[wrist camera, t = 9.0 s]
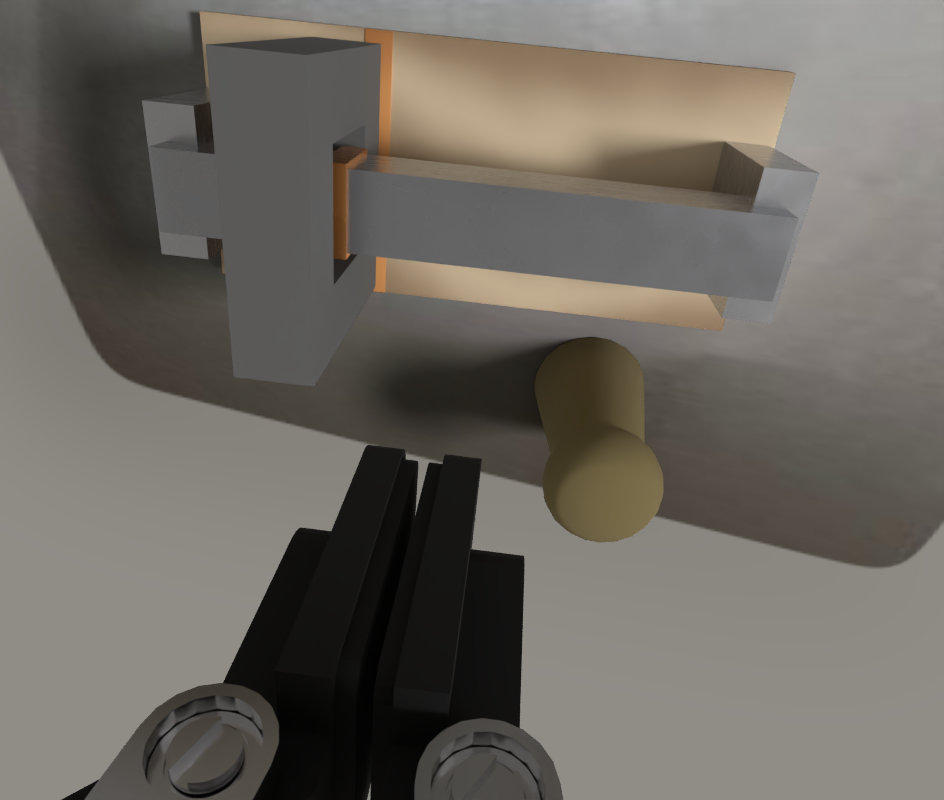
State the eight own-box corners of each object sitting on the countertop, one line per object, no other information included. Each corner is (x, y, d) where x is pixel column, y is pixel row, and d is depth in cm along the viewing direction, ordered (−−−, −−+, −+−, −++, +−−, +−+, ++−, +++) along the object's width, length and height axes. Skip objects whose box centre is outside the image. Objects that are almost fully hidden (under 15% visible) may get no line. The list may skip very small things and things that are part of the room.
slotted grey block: (312, 36, 30) (205, 44, 20) (381, 43, 30) (305, 54, 20) (316, 279, 35) (233, 376, 26) (375, 286, 35) (314, 386, 26)
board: (207, 11, 31) (198, 11, 31) (789, 71, 31) (796, 72, 30) (228, 268, 37) (221, 273, 36) (718, 324, 36) (722, 331, 36)
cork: (532, 431, 40) (530, 560, 31) (536, 335, 37) (535, 444, 28) (638, 435, 40) (669, 567, 30) (650, 338, 37) (690, 450, 27)
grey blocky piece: (211, 86, 32) (119, 104, 25) (769, 145, 31) (834, 182, 24) (222, 216, 35) (142, 265, 28) (733, 274, 34) (782, 339, 27)
